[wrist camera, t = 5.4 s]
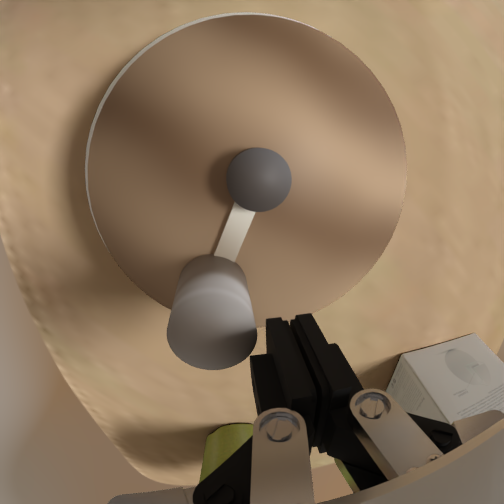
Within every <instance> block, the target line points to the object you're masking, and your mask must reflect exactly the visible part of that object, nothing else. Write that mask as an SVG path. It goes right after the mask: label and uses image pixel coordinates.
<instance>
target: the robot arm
mask: <svg viewBox="0 0 504 504" xmlns="http://www.w3.org/2000/svg"><path fill="white" fill-rule="evenodd" d="M266 348H267V354H262V355H253V356H250V368H251V378H252V386H253V392H254V398H255V403H256V409H257V414H258V417H257V418H256V420H255V421H254V425H253V435H252V436H251V437H250V438H249V439H248V440H247V441H246V442H245V443H244V444H243V445H242V446H241V447H240V448H239V449H237V450H236V451H235V452H234V453H233V454H232V455H231V456H230V457H229V458H228V459H227V460H226V461H224V462H223V463H222V464H221V465H220V466H219V467H218V468H217V469H215V470H214V471H213V472H212V473H211V474H210V475H208V476H207V477H206V478H205V479H204V480H202V481H201V482H200V483H199V484H198V485H197V486H196V487H191V488H186V489H183V487H178V488H172V489H166V490H159V491H152V492H143V493H133V494H122V495H118V496H115V497H114V498H112V499H111V500H110V501H109V503H108V504H315V502H314V492H313V482H312V474H311V464H310V453H311V448H312V447H316V446H317V447H318V450H319V453H324V452H327V455H329V456H331V457H334V460H335V463H336V465H337V467H338V468H339V470H340V471H341V473H342V475H343V476H344V478H345V480H346V481H347V483H348V484H349V486H350V488H351V489H352V491H353V494H350V495H347V496H343V497H340V498H337V499H333V500H329V501H325V502H321V503H317V504H504V413H503V412H501V411H499V410H490V411H487V412H484V413H480V414H477V415H474V416H471V417H467V418H464V419H460V420H457V421H453V423H452V424H451V425H450V424H448V423H445V422H441V421H437V420H433V419H429V418H426V417H422V416H418V415H415V414H411V413H407V412H405V411H404V410H403V408H402V407H401V406H400V405H399V404H398V403H397V402H396V401H395V400H394V398H393V397H392V396H391V395H389V394H388V393H387V392H385V391H382V390H379V389H365V390H364V389H363V387H362V385H361V384H360V382H359V380H358V378H357V377H356V375H355V373H354V372H353V370H352V368H351V366H350V365H349V363H348V361H347V360H346V358H345V356H344V355H343V353H342V351H341V350H340V348H339V346H338V345H337V344H335V343H333V344H328V342H327V341H326V339H325V337H324V335H323V334H322V332H321V330H320V328H319V326H318V325H317V323H316V321H315V319H314V318H313V316H312V314H311V313H307V314H299V315H296V316H295V319H291V320H290V325H289V323H288V321H287V320H282V318H281V317H276V318H268V319H266Z"/></svg>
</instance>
